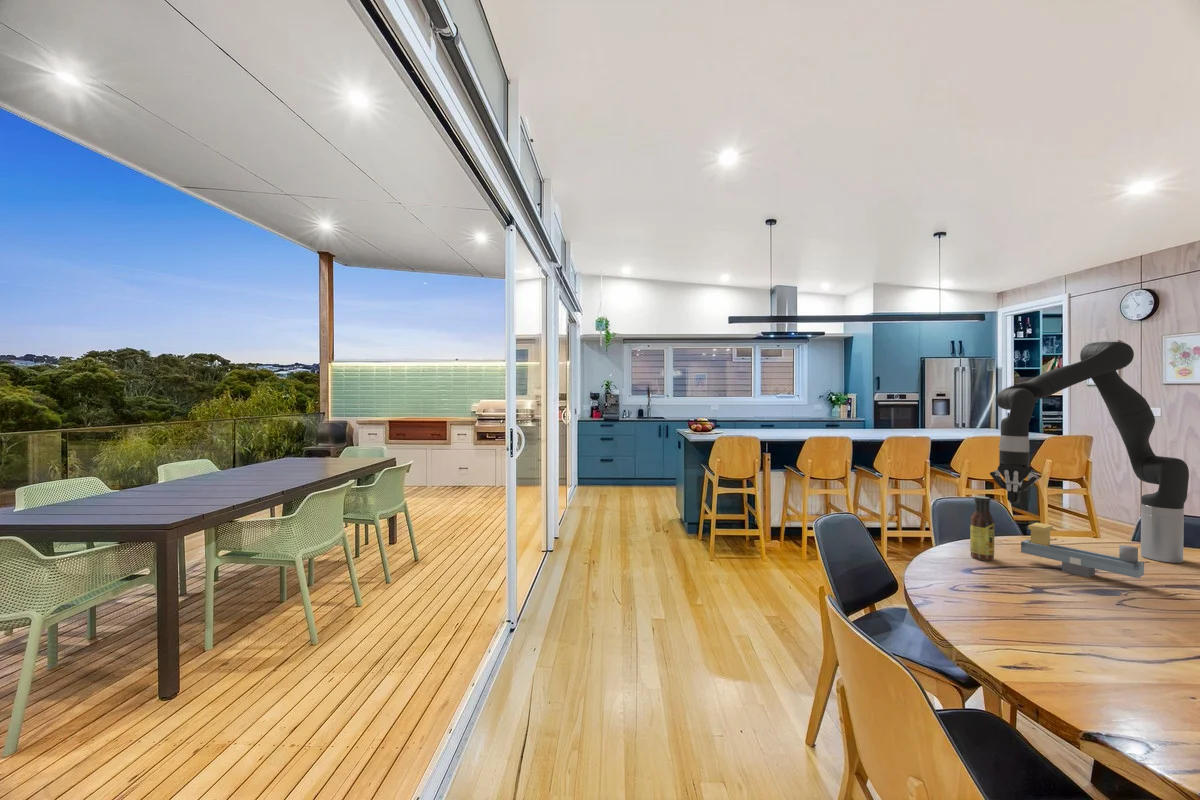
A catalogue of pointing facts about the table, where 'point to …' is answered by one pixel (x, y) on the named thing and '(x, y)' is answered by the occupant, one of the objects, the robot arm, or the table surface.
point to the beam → (1088, 559)
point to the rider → (1040, 533)
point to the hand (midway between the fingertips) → (1013, 502)
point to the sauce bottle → (982, 530)
